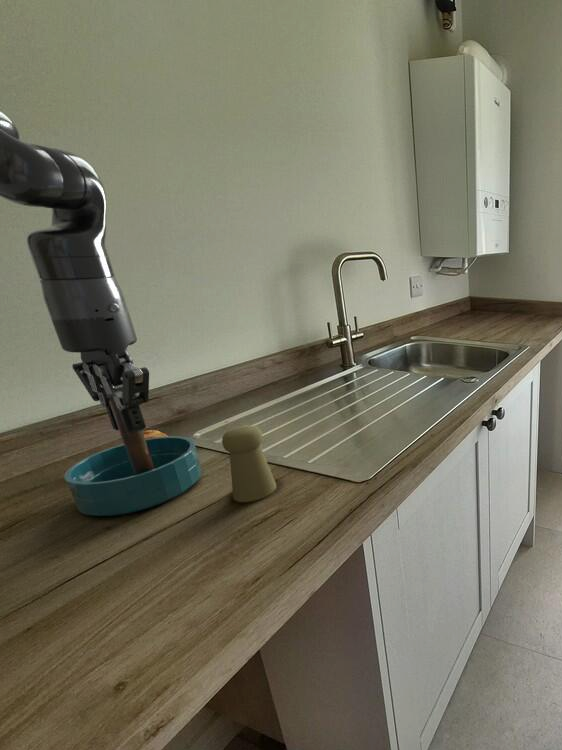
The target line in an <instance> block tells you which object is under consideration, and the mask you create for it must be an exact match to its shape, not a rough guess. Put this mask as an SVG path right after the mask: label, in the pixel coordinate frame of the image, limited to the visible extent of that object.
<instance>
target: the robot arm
mask: <svg viewBox="0 0 562 750" xmlns="http://www.w3.org/2000/svg"><path fill="white" fill-rule="evenodd" d="M104 186H105V185H104V183H103V181H102V180H101V177H100V175H99V174H98V173H97V171H96V170H95V169H94V167H92V165H91V164H90V163H89V162H88V161H87V160H86V159H85V158H83V157H81V156H79V155H77V154H75V153H73V152H70V151H67V150H63V149H58V148H54V147H48V146H44V145H41V144H36V143H35V144H34V143H30V142H25V141H22V140H21V135H20V131H19V128H18V127H17V126H16V124H15V123H14V121H13V120H12V119H11V118H10V117H9V116H8V115H7V114H6V113H4V112H3V111H2V110H1V109H0V198H2V199H3V200H6V201H8V202H11V203H14V204H17V205H20V206H24V207H32V208H46V209H51V223H50V226H49V227H47V228H41V229H37V230H33V231H31V232H29V233H28V234H27V236H26V245H27V249H28V252H29V255H30V258H31V260H32V263H33V266H34V268H35V271H36V274H37V277H38V279H39V283H40V286H41V293H42V298H43V301H44V304H45V307H46V309H47V312H48V315H49V318H50V320H51V321H52V323H51V324H52V325H53V328H54V331H55V333H56V337H57V339H58V342H59V345H60V346H61V349H62V350H63V351H64V352H68V353H77V354H80V360H81V362H76V363H72V370H73V371H74V372H75V374H76V376H77V377H78V378H79V380H80V382H81V383H82V385H83V387H84V388H85V390H86V391H87V393H88V395H89V396H90V397H91V399H92V400H93V401H94V402H99V403H100V405H101V406H102V407H103V408H105V409H106V412H107V415H108V418H109V420H110V424H111V426H112V429H113V430H115V431H119V429H118V426H117V423H116V420H115V418H114V415H113V412H112V409H111V406H110V403H109V399H111V398H114V401H115V403H116V405H117V408H118V409H119V410H118V411H119V414H120V417H121V420H122V423H123V426H124V429H125V431H126V432H127V433H135V432H138V431H141V430H142V431H144V430H145V429H146V428H147V425H146V422H145V419H144V417H143V412H142V409H141V405H143V404H145V403H149V398H150V397H149V396H150V371H149V369H148V368H147V367H145V366H143V367H140V368H138V367H137V366H135V364H134V360H133V358H132V356H131V354H130V353H129V351H128V347H129V346H131V345H134V344H136V342H137V341H138V337H137V334H136V331H135V328H134V325H133V321H132V318H131V315H130V311H129V309H128V308H129V307H128V305H127V302H126V298H125V295H124V293H123V291H122V288H121V286H120V284H119V283H118V280H117V278H116V274H115V271H114V269H113V265H112V262H111V257H110V256H109V253H108V249H107V246H106V237H107V194H106V190H105V187H104ZM122 396H123V398H122Z"/></svg>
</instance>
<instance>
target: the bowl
mask: <svg viewBox="0 0 562 750" xmlns="http://www.w3.org/2000/svg"><path fill="white" fill-rule="evenodd" d="M167 436H168V437H156V438H150V439H145V440H146V443H147V447H148V450H149V453H150V456H151V459H152V462H153V465H154V468H155V469H153V470H150V471H147V472H144V473H141V474H138V475H134V472H133V469H132V466H131V463H130V461H129V458H128V455H127V452H126V449H125V446H124V443H122V444H119V445H115V446H112V447H110V448H107V449H104V450H101V451H99V452H96V453H94V454H92V455H89V456H87V457H84V458H82V459H81V460H80V461H78V462H76V463H75V464H73V465H71V467H70V468H68V469H67V470H66V471H65V474H64V476H63V478H64V480H65V483H66V485H67V488H68V490H69V493H70V496H71V498H72V501H73V503H74V505H75V508H76V509H77V510H78V513H81V514H84V515H85V516H87V515H88V516H97V517H102V516H103V517H104V516H105V517H107V516H108V517H110V516H121V515H127V514H131V513H136V512H139V511H140V512H141V511H145V510H146V509H151V508H153V507H156V506H159V505H161V504H163V503H165V502H168V501H170V500H172V499H174V498H176V497H178V496H180V495H181V494H182V493H184V492H185V491H187V490H188V489H189V488H191V487H192V486H193V485H194V484H195V483H197V481H198V480H199V479H200V478H201V476H202V474H203V470H202V465H201V462H200V458H199V455H198V451H197V448H196V443H195V441H194V440H192V439H191V438H189V437H186V436H174V435H172V436H170V435H167Z"/></svg>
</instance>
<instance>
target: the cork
mask: <svg viewBox="0 0 562 750" xmlns="http://www.w3.org/2000/svg"><path fill="white" fill-rule="evenodd" d="M263 440H264V439H263V433H262V431H261V429H260V428H258V426H255V425H251V424H246V425H239V426H236V427H233V428H230V429H228V430H227V431H226V432H225V433H223V435H222V438H221V443H222V447H223V449H224V450H225V451H226V452H228V454H229V463H230V474H231V486H232V498H233V500H234V501H235V502H238V503H250V502H255V501H259V500H261V499H263V498H265V497H266V498H267V497H268V496H270V495H271V494H273V493H274V491H276V489H277V483H276V480H275V478H274V476H273V475H274V474H273V473H272V470H271V469H270V465H269V464H268V461H267V458H266V455H265V453H264V451H263V448H262V446H261V445H262V443H263Z"/></svg>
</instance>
